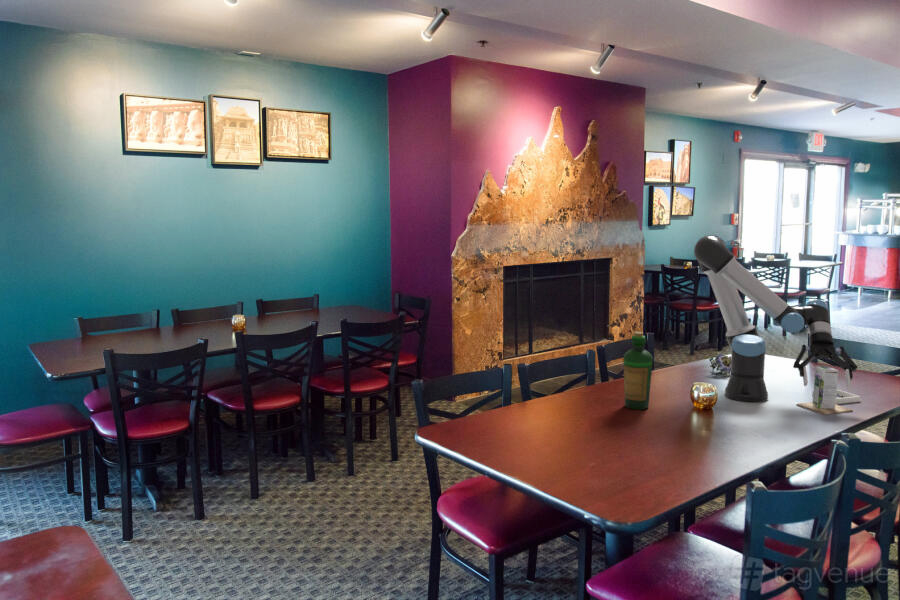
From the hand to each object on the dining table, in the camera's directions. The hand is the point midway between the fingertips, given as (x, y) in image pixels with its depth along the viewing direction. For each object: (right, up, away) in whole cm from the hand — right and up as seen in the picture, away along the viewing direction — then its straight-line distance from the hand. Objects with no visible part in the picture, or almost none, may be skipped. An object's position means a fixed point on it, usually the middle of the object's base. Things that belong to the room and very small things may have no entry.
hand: (827, 385), depth 229 cm
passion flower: (-15, -2, +55) cm, 57 cm away
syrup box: (+1, -8, +3) cm, 9 cm away
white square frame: (+12, -7, +15) cm, 20 cm away
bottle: (-66, -9, +8) cm, 67 cm away
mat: (+1, -9, +3) cm, 9 cm away
